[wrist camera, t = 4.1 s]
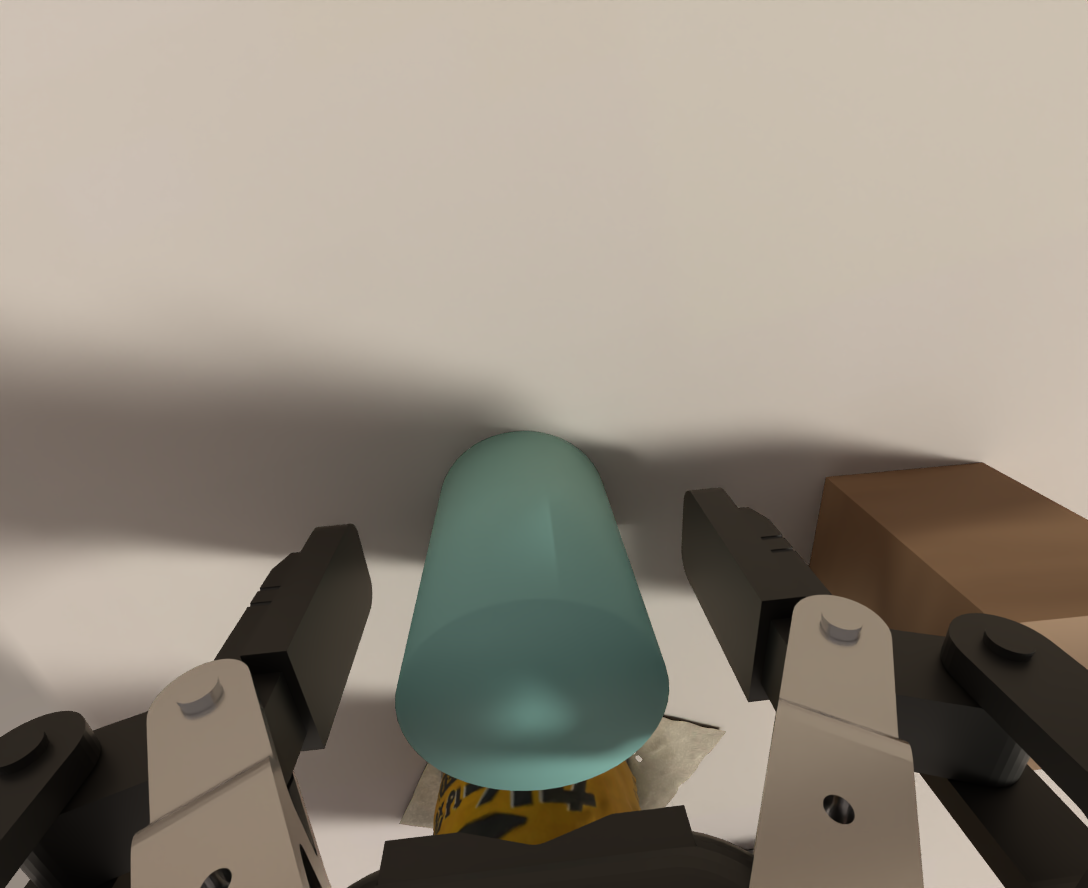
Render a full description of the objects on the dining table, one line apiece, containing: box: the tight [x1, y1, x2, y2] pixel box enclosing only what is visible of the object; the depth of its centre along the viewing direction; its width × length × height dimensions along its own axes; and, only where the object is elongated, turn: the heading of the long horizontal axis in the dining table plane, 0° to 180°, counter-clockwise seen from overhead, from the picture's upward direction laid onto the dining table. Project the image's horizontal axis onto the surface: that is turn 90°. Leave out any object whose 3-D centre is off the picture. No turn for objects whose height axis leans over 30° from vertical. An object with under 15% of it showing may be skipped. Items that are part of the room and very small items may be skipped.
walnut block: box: [809, 462, 1088, 770], centre depth 11 cm, size 4×4×5 cm
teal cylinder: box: [395, 431, 669, 791], centre depth 10 cm, size 4×4×6 cm
